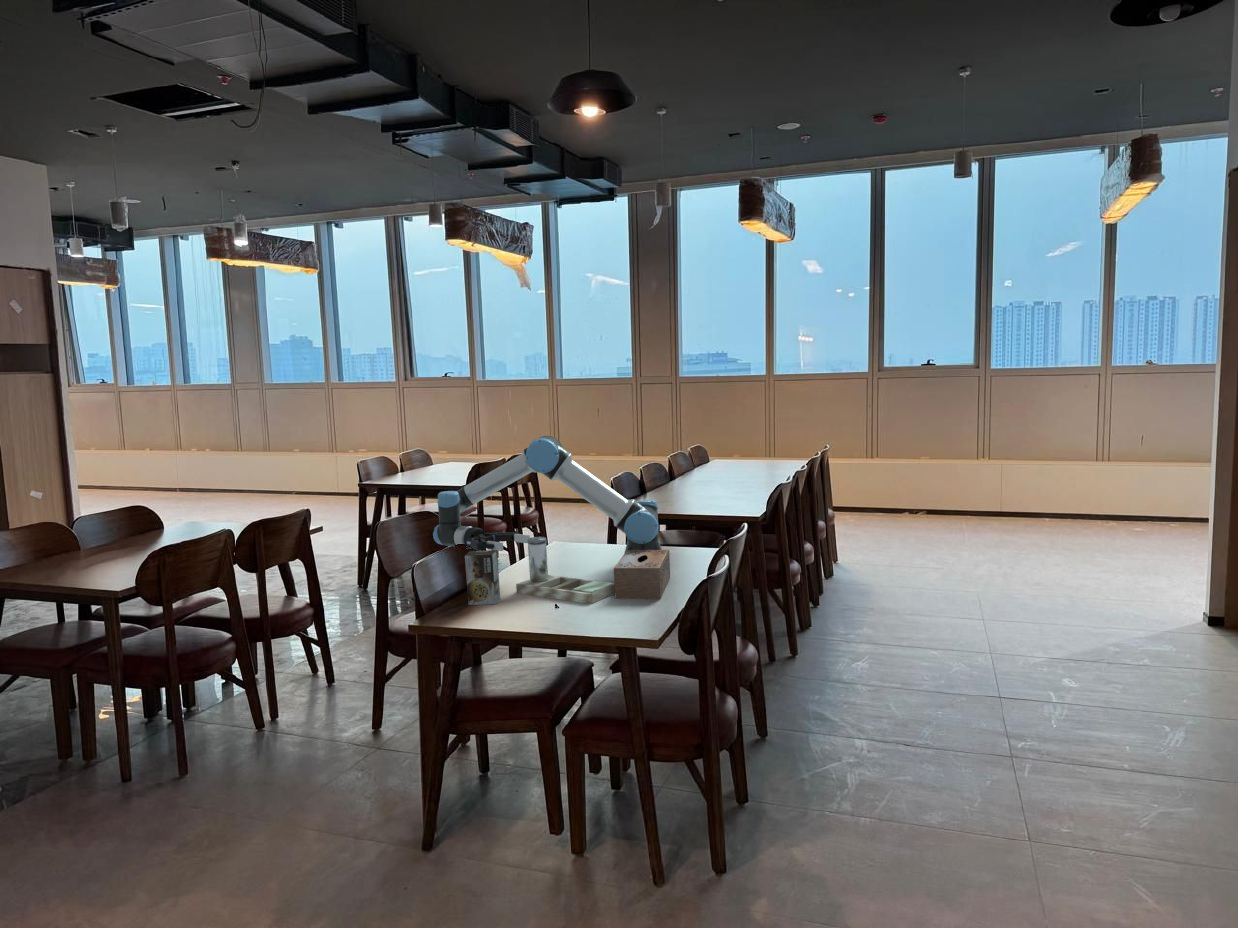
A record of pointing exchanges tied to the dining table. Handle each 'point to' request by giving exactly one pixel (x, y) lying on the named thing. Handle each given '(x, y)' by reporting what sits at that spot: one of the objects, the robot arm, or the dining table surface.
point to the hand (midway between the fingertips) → (516, 543)
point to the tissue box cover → (642, 574)
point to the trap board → (567, 589)
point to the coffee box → (482, 577)
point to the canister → (537, 559)
